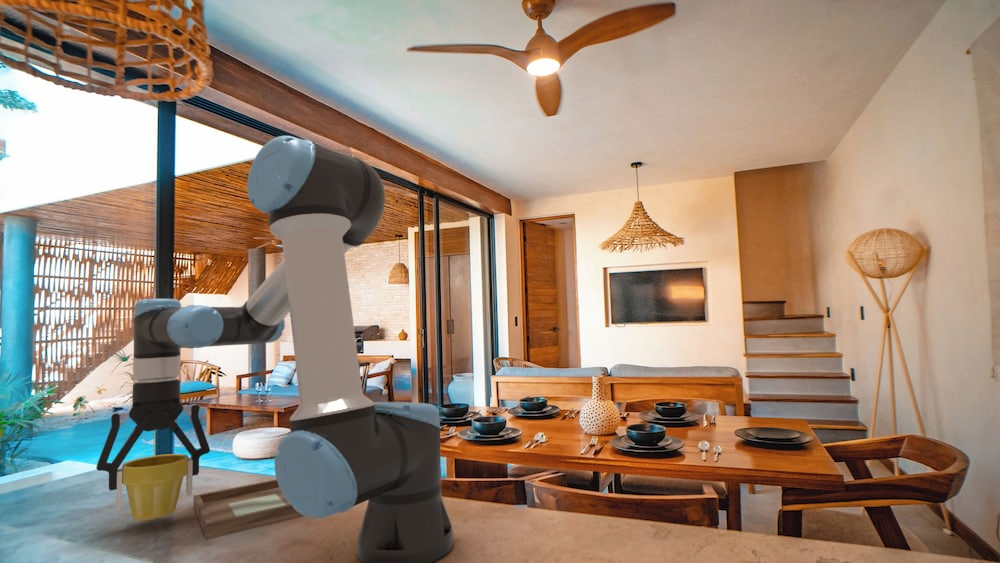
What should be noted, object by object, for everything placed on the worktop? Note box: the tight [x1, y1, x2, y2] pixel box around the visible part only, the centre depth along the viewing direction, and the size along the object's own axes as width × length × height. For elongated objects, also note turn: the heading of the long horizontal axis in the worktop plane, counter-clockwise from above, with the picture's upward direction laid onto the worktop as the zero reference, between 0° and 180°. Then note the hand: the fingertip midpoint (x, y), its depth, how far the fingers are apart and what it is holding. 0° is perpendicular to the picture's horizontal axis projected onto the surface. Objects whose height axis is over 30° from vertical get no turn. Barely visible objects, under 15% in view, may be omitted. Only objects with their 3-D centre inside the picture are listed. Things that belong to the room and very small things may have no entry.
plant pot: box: [121, 453, 189, 521], centre depth 95 cm, size 10×10×10 cm
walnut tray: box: [193, 479, 305, 540], centre depth 102 cm, size 20×20×2 cm
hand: (155, 500), depth 95 cm, fingers closed on plant pot, 10 cm apart
